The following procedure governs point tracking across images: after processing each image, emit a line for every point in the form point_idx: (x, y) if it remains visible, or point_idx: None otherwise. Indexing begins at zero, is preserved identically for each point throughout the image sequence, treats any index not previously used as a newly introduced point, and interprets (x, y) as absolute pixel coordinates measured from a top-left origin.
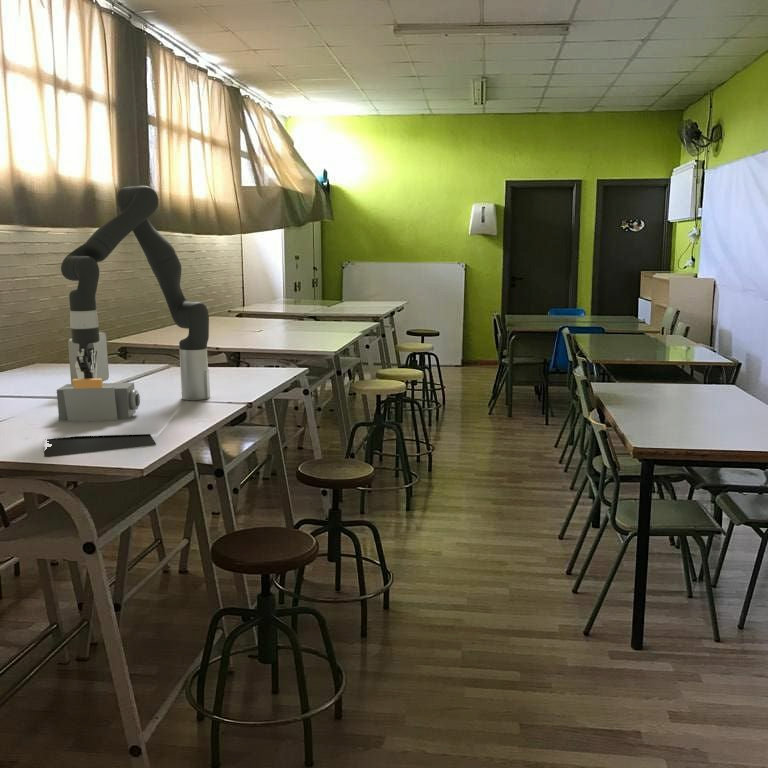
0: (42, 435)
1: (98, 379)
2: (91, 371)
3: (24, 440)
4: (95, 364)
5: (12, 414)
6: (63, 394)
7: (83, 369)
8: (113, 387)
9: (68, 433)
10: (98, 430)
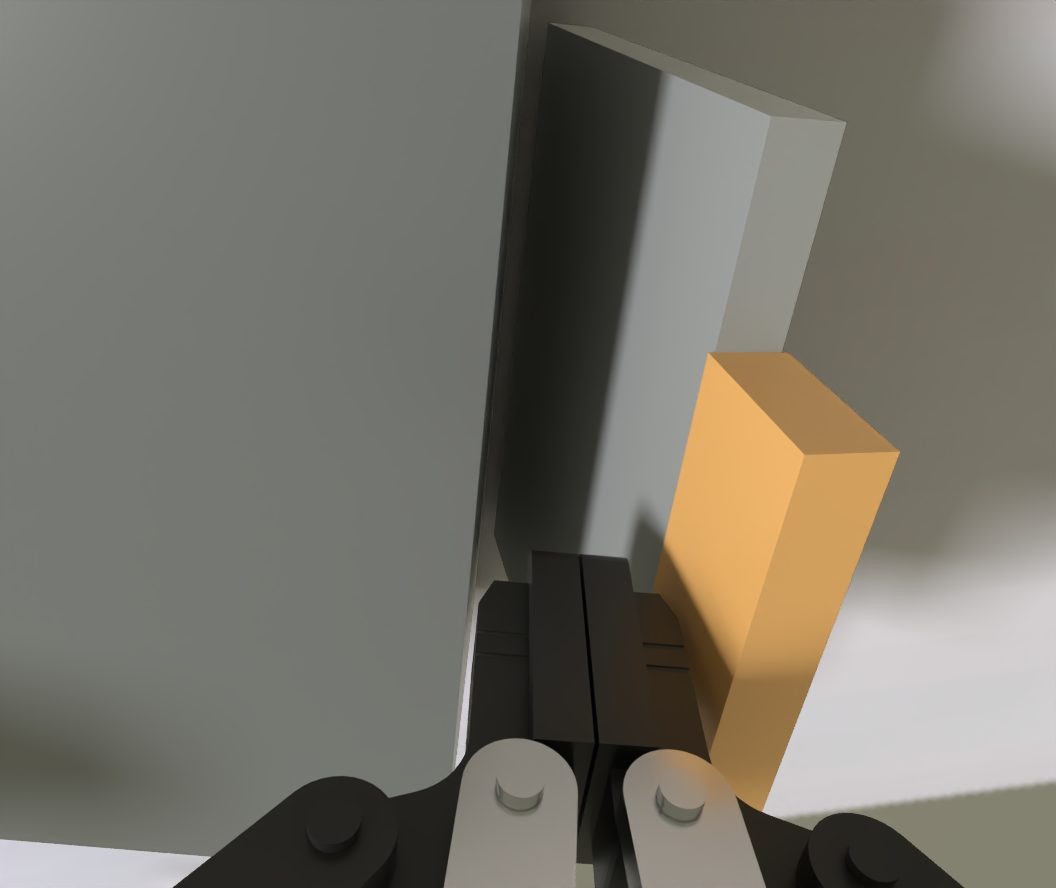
0: (931, 628)
1: (853, 510)
2: (711, 783)
3: (1048, 704)
4: (217, 867)
5: (102, 883)
6: (453, 770)
7: None
8: (792, 115)
9: (955, 461)
10: (956, 202)
